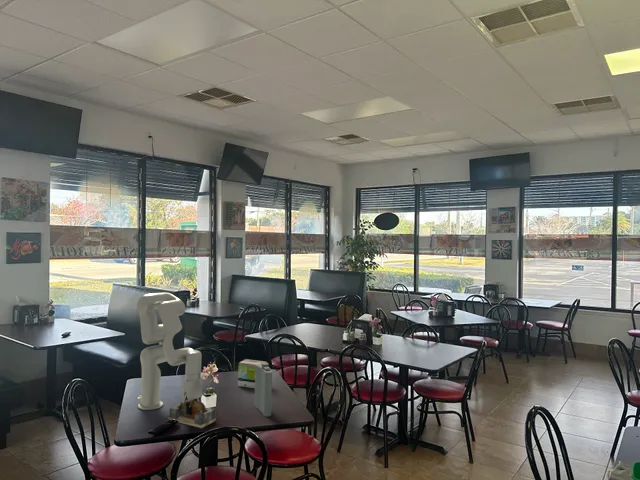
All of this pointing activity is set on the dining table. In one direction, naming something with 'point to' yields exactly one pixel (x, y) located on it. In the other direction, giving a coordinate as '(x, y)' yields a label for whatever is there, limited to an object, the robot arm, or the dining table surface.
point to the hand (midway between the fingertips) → (192, 412)
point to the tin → (193, 409)
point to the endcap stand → (199, 420)
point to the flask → (263, 388)
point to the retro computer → (247, 373)
